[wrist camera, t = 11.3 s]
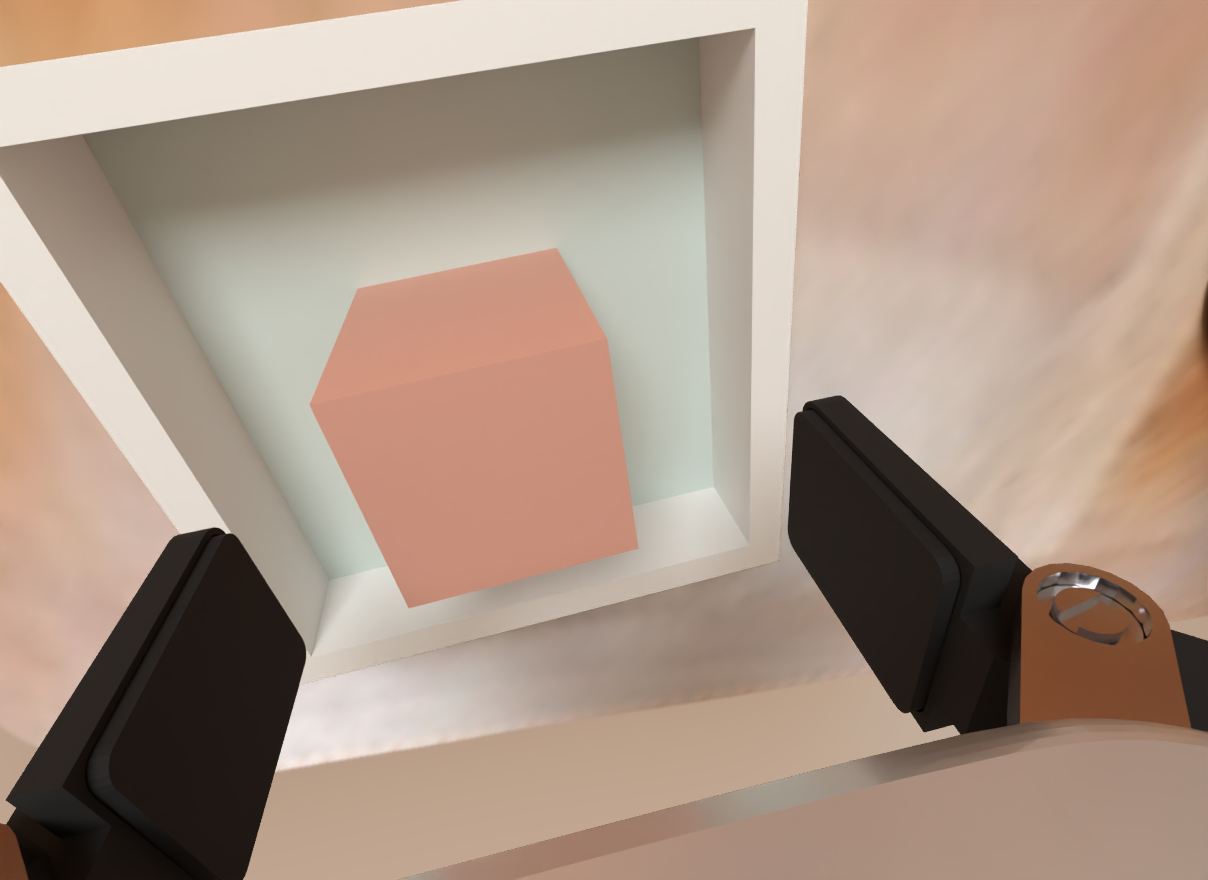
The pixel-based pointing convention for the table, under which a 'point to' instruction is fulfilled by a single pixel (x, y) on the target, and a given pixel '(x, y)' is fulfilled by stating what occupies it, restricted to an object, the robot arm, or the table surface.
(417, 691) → the table surface
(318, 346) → the tray
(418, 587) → the pink block
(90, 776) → the robot arm
